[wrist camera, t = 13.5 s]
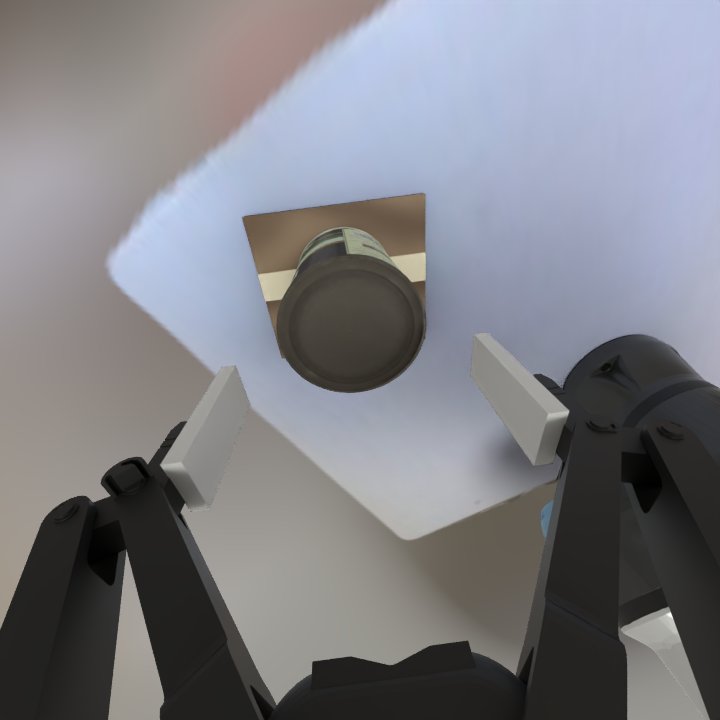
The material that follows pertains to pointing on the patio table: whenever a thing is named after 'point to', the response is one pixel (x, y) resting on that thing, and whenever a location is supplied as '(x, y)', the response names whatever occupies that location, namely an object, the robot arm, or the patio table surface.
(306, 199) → the patio table surface
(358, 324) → the coffee can
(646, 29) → the patio table surface
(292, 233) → the board
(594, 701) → the robot arm
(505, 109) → the patio table surface
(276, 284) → the strip
